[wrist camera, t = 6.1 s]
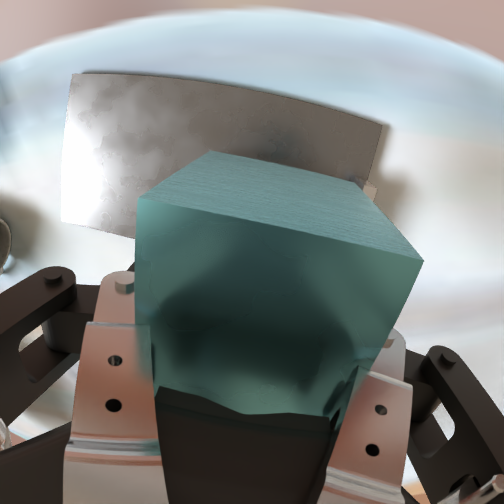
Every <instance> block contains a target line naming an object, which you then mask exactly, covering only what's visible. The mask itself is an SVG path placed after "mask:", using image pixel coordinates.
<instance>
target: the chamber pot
mask: <svg viewBox="0 0 504 504" xmlns="http://www.w3.org/2000/svg"><path fill="white" fill-rule="evenodd" d="M10 447H12V444H11V437H10V431H9V429H8V427H7V428H6V437H5V443H4V449H7V448H10Z"/></svg>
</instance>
